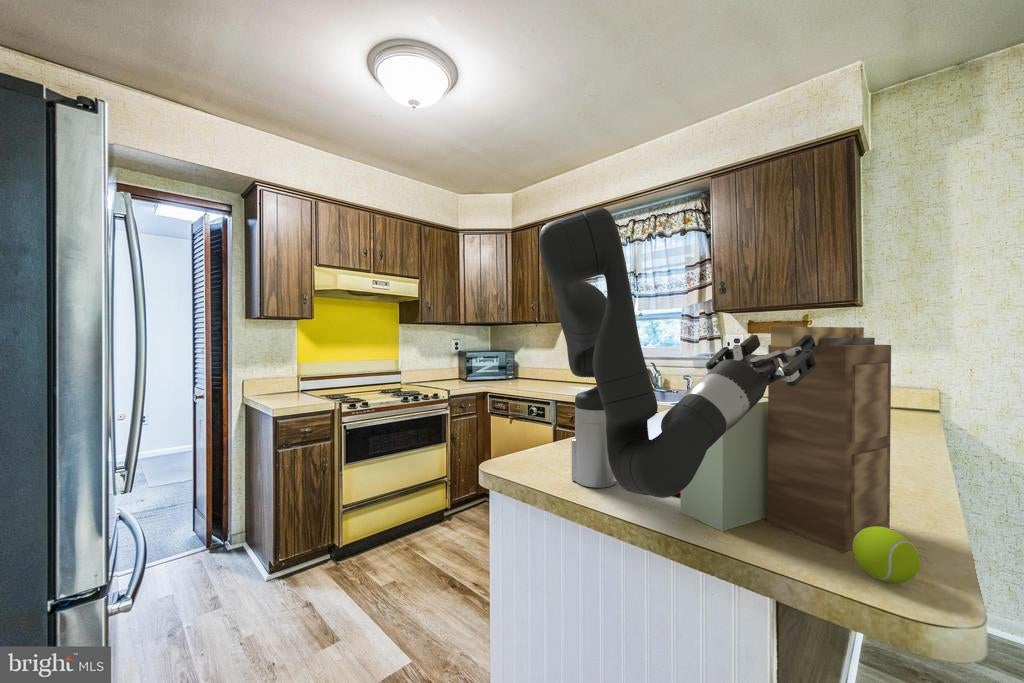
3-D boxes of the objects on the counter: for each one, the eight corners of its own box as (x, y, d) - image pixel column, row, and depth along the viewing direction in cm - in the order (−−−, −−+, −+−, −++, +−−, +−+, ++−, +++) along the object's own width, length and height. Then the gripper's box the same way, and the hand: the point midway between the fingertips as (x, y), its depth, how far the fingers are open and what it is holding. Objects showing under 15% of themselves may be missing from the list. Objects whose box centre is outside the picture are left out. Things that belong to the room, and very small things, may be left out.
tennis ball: (933, 590, 56) (934, 538, 56) (892, 597, 55) (892, 543, 55) (878, 563, 63) (879, 516, 63) (839, 568, 62) (840, 520, 62)
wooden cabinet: (846, 554, 66) (848, 338, 65) (767, 523, 77) (768, 337, 76) (892, 535, 72) (894, 337, 71) (813, 508, 83) (814, 337, 82)
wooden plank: (795, 346, 64) (795, 326, 64) (767, 346, 68) (767, 327, 67) (863, 344, 77) (863, 327, 76) (837, 343, 80) (837, 327, 80)
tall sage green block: (722, 531, 74) (722, 406, 73) (680, 512, 82) (680, 399, 81) (779, 513, 81) (780, 399, 80) (736, 497, 89) (736, 394, 88)
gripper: (761, 379, 55) (824, 317, 61) (674, 371, 68) (734, 320, 74) (779, 427, 57) (839, 362, 63) (691, 410, 69) (748, 357, 75)
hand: (782, 339), depth 68 cm, fingers open, 8 cm apart
